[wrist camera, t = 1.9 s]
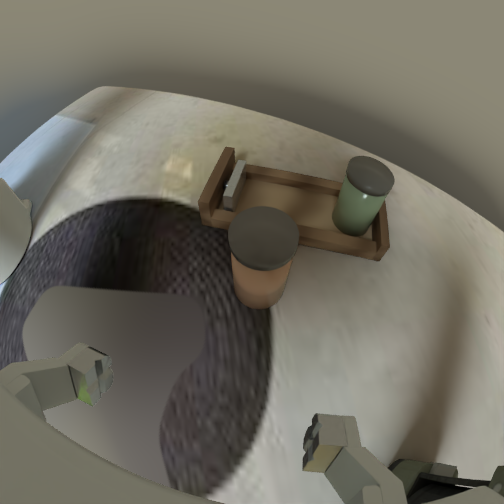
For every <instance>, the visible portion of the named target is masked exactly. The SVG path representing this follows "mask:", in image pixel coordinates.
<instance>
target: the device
mask: <svg viewBox="0 0 504 504" xmlns="http://www.w3.org/2000/svg"><path fill="white" fill-rule="evenodd" d="M456 468H457V466H451V465H446V464H441V463H434V462H430V463H426V462H420V461H413V460H403V459H399V460H397V461H395V462H394V463H393V464H392V465H391V466H390V467H389V468H388V469H389V470H390V471H391V472H392V473H393V474H394V475H395V476H396V477H398V478H399V479H400V480H401V481H402V482H403V486H404V491H405V495H406V499H407V504H424V503H428V502H432V501H435V500H439V499H443V498H446V497H449V496H453V495H456V494H459V493H462V492H465V491H467V490H470V489H473V488H467V487H460V486H455V485H463V486H471V487H479V486H487V487H489V488H491V489H492V490H494V491H496V492H497V493H499V494H500V495H502V496H503V497H504V466H498V467H497V469H496V470H495V472H494V475H493V477H492V479H491V481H484V480H471V479H462V478H458V470H457V469H456Z"/></svg>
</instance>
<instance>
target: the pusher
mask: <svg viewBox="0 0 504 504" xmlns="http://www.w3.org/2000/svg"><path fill="white" fill-rule="evenodd" d="M245 181H246V161H244V160H238V162H237V164H236V166H235V169H234V171H233V173H232V175H231V178H230V180H229V181H228V180H225V181H224V183H223V190H225V192H224V194H223V201H224V210H225V211H231V212H234V211H235V209H236V206H237V203H238V200H239V198H240V195H241V192H242V189H243V187H244V184H245Z"/></svg>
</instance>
